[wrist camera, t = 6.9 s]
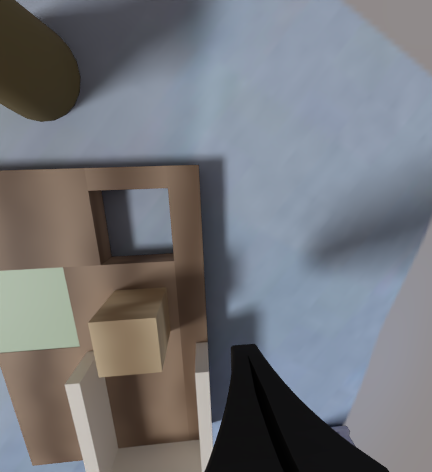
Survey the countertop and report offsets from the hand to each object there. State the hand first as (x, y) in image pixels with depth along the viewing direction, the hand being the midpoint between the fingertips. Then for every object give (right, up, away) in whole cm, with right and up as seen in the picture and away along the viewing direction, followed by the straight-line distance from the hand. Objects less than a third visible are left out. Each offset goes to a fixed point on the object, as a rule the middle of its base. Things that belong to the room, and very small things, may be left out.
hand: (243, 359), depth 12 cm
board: (-11, -1, +8) cm, 13 cm away
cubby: (-7, -8, +7) cm, 13 cm away
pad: (-16, +1, +7) cm, 18 cm away
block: (-7, +1, +5) cm, 9 cm away
